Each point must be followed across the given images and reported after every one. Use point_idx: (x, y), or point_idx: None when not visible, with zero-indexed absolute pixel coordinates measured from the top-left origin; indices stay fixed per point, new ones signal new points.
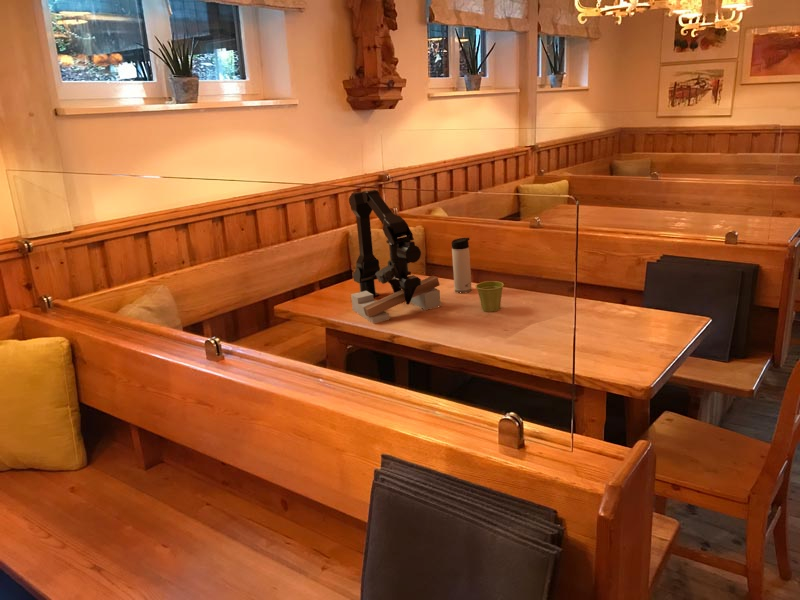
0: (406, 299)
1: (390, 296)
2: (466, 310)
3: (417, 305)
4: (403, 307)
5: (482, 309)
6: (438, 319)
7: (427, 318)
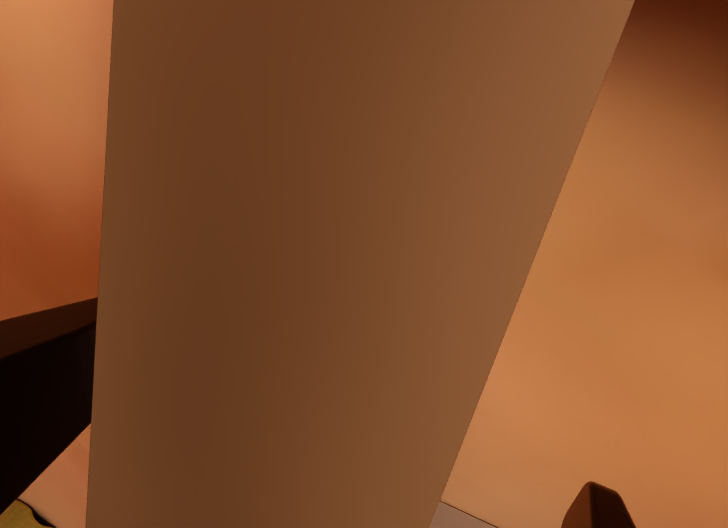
0: (6, 322)
1: (321, 240)
2: (85, 495)
3: (470, 522)
4: (615, 443)
5: (25, 514)
6: (10, 276)
7: (75, 251)
